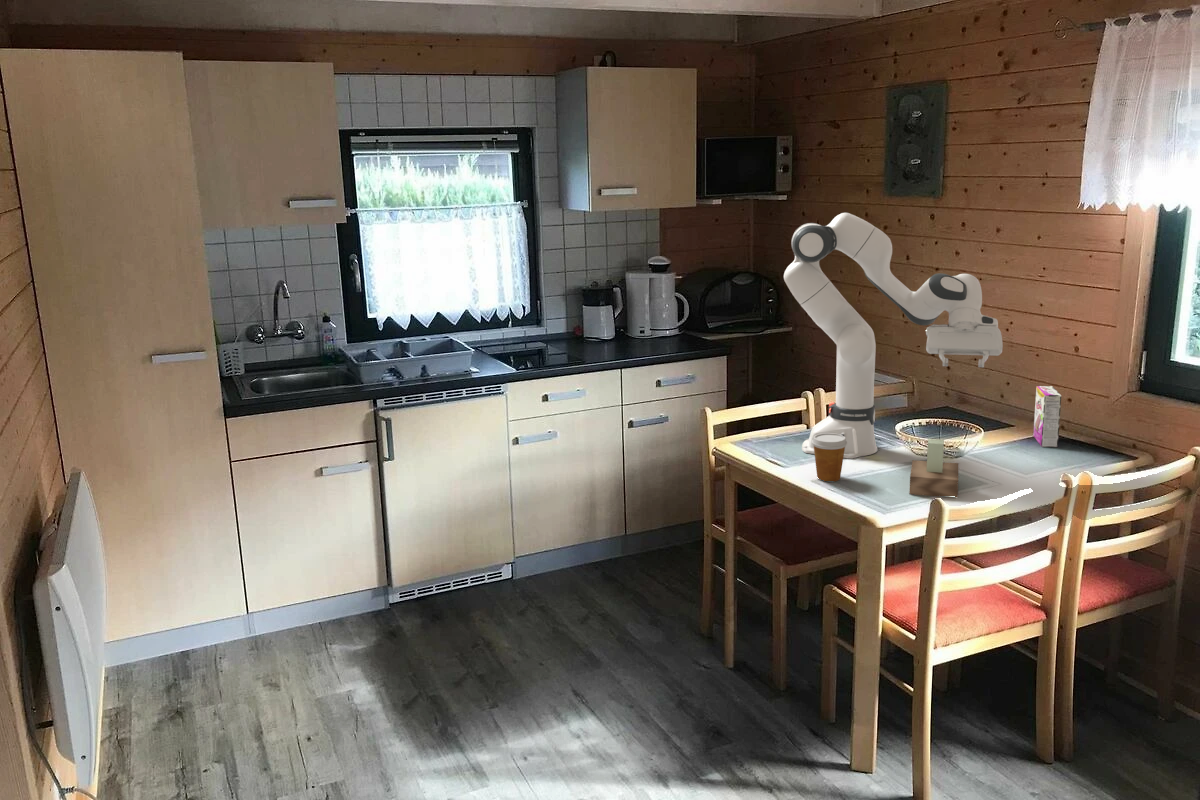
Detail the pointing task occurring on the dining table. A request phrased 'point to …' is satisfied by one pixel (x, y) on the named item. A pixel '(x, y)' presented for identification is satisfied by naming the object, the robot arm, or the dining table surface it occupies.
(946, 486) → the walnut plinth
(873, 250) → the robot arm
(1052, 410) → the candy bar box
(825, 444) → the disposable coffee cup
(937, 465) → the sage block
